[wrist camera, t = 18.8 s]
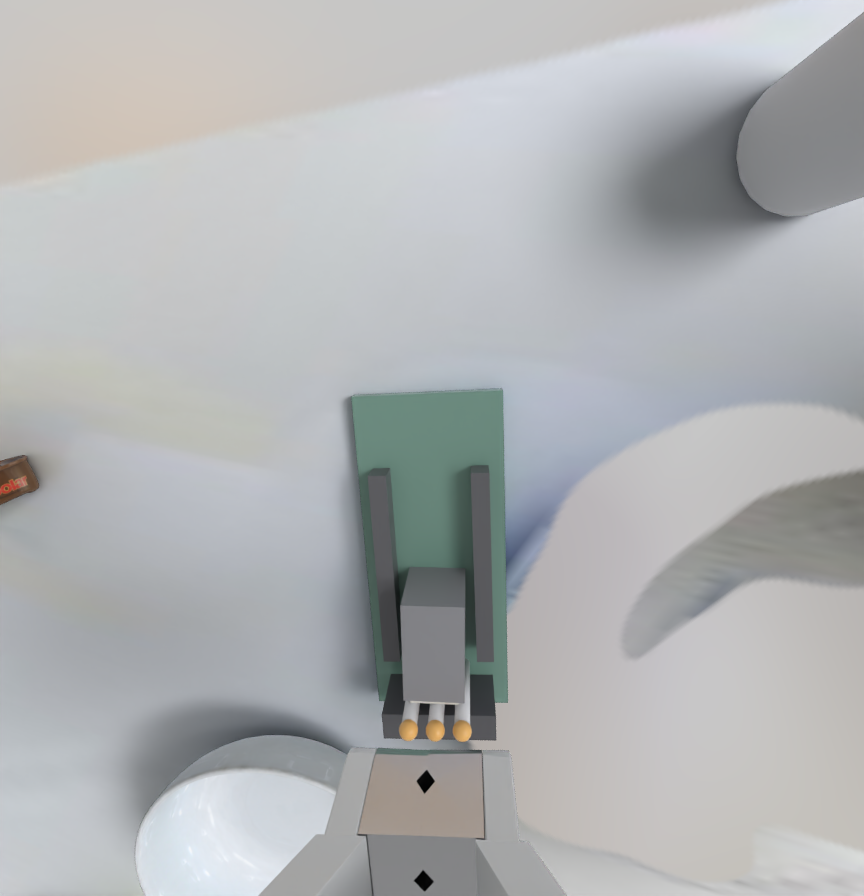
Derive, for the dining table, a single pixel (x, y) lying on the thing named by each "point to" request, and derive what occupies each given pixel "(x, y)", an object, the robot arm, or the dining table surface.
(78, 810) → the dining table surface
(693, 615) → the dining table surface
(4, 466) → the tin
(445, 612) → the plug
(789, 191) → the can
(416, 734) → the header board
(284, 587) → the dining table surface
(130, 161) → the dining table surface
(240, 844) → the serving bowl
